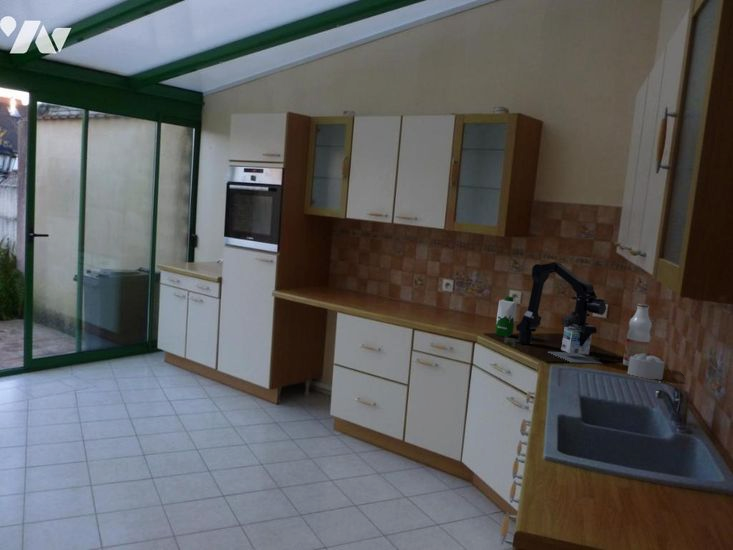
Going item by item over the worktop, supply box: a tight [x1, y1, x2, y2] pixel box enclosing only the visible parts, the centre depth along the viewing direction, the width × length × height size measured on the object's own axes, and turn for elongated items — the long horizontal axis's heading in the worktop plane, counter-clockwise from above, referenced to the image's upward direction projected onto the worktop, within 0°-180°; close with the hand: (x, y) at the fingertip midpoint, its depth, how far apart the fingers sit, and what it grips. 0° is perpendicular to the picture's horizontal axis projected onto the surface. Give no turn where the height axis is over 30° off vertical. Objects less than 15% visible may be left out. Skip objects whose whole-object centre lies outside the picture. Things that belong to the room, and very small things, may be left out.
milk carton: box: [495, 295, 518, 338], centre depth 316 cm, size 9×9×20 cm
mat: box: [547, 351, 603, 365], centre depth 276 cm, size 18×16×1 cm
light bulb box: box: [560, 327, 593, 355], centre depth 276 cm, size 11×7×11 cm, turn 105°
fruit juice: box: [622, 303, 653, 367], centre depth 272 cm, size 9×9×28 cm
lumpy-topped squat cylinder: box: [627, 354, 666, 381], centre depth 255 cm, size 10×13×9 cm
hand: (576, 344), depth 276 cm, fingers closed on light bulb box, 7 cm apart
